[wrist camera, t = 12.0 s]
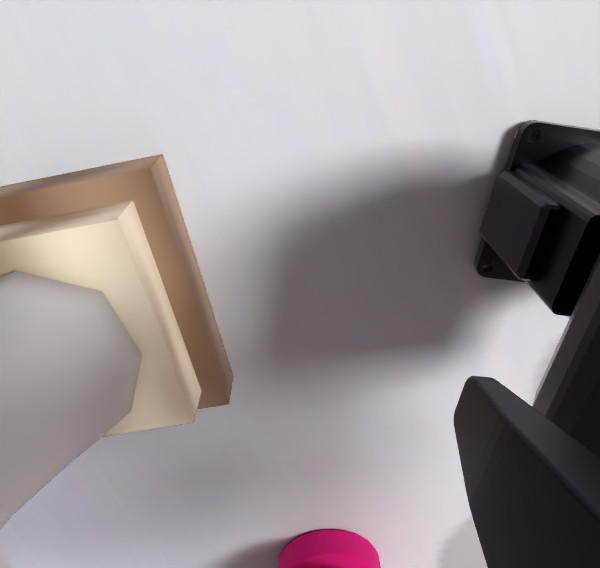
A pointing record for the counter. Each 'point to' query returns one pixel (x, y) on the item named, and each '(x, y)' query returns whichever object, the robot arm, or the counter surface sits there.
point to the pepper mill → (329, 551)
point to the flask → (56, 379)
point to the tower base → (164, 243)
